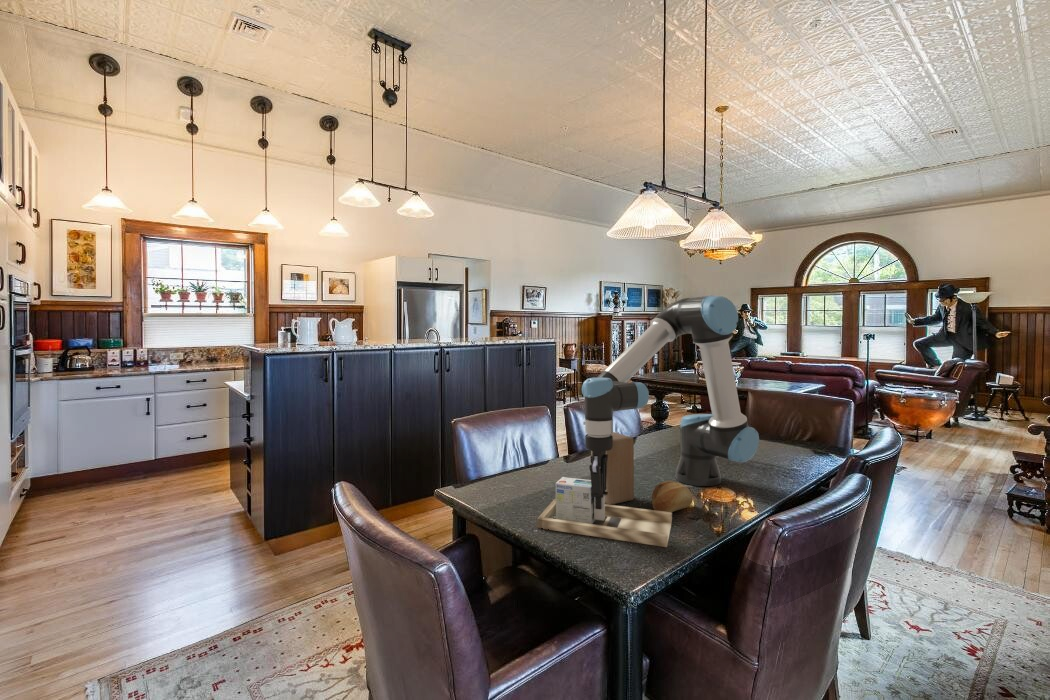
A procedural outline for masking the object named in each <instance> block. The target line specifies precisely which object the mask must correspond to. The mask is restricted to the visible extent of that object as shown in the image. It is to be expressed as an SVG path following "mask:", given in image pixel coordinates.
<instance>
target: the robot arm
mask: <svg viewBox="0 0 1050 700" xmlns="http://www.w3.org/2000/svg"><path fill="white" fill-rule="evenodd" d="M738 322H739V314H738V310H737V307H736V306H735V304H734V303H733V302H732V300H731V299H729V298H727V297H725V296H722V295H721V296H720V295H706V296H697V297H684V298H681V299H678V300H676V301H674V302H672V303H671V304H669V305H668V306H666V307H665V308H664V309H662V310H661V311H660V312H659V313H658V314H657V315H656V316H655V317H654V318H653V319H651V321H650V326H649V327H647V329H646V330H645V331H644V332H642V334H640V335H639V336H637V337H638V338H636V339H635V340H634V341H633V342H632V343H631V344H630V345H629V346H628V347H627V348H626V349H625V350H624V351H622V353H621V354H620V355H619V356H617V358H616V359H615V360H613V362H611V363H610V364H609V365H608V366H607V367H606V368H605V369H604V370H603V371H602V372H601V373H600V374H599V375H597V376H596V377H595V376H594V377H589V378H587V379H586V380H584V381H583V383H582V386H581V393H582V396H583V399H584V421H583V423H582V424H583V425H584V428H585V431H584V432H585V434H586V435H584V445H585V449H587V450H588V451H590V452H591V451H592V452H593V453H592V456H591V455H590V464H589V466H588V467H589V472H590V480H591V487H592V495H591V496H592V497H594V519H596V520H603V521H604V519H605V504H606V503H605V495H607V494H608V492H605V490H606V489H607V487H606V482H607V461H608V454H606V451H609V450H611V449H612V448H613V436H612V435H611V434H612V433H613V432H614V419H613V417H614V412H617V411H618V412H621V411H625V410H626V411H628V410H637V409H642V408H644V407H645V406H646V405H647V404H648V403H649V400H650V395H649V394H650V392H649V389H648V387H647V385H646V384H644V383H642V381H641V382H638V381H632V382H628V381H630V380H631V379H632V377H634V376H635V375H636V374H637V373H638V372H639V371H640V369H642V368H643V367H644V366H645V365H646V364H647V363H648V362H649V360H651V359H652V358H653V357H654V356H655V355H656V354H657V353H658V352H659V351H660V350H661V349H662V348H663V347H664V346H665V345H666V344H667V343H672V342H674V340H675V339H677V338H678V337H680V336H681V335H686V334H687V335H689V334H690V335H691V337H692V341H693V344H695V345H696V346H698V347H699V352H700V357H701V362H702V366H703V367H702V368H703V372H704V373H703V374H704V379H705V382H706V383H705V384H706V388H707V394H708V399H709V405H710V410H711V413H696V414H693V413H692V414H686V415H684V416H682V417H681V419H680V428H679V429H680V458H679V461H678V463H677V467H676V470H675V480H676V481H678V482H679V483H681V484H685V485H690V486H695V487H697V486H698V487H714V486H718V485H720V484H721V483H722V475H721V472H720V468H719V465H718V462H717V457H718V458H722V459H725V460H729V461H731V462H736V463H745V462H749V461H750V460H751V459H752V458H753V457H754V455H756V452H757V450H758V448H759V445H760V436H759V435H760V434H759V432H758V431H757V430H756V428H754V427H752V426H749V422H748V417H747V416H746V415H745V414H743V413H742V412H741V406H740V401H739V395H738V389H737V383H736V377H735V371H734V367H733V360H732V355H731V350H730V343H729V342H730V340H731V339H732V338H733V335H734V334H733V332H734V331H735V330H736V328H737V326H738V324H737V323H738ZM603 494H604V495H603Z"/></svg>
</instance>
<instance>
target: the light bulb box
mask: <svg viewBox="0 0 1050 700" xmlns="http://www.w3.org/2000/svg"><path fill="white" fill-rule="evenodd" d="M554 487H555V491H554V493H555V498H556V519H558V520H565V521H573V522H580V523H587V524H593V522H594V521H595V519H594V497H592V496H591V495H592V487H591V479H586V478H584V479H583V478H576V477H575V478H574V477H566V476H561V478H560V479H558V480H557V481H556V482H555V485H554Z"/></svg>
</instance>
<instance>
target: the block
mask: <svg viewBox="0 0 1050 700" xmlns="http://www.w3.org/2000/svg"><path fill="white" fill-rule="evenodd" d="M611 435H612V436H613V448H612V449H611V450H609V451H606V454H608V461H607V482H606V487H607V489H606V490H605V492H608V494H607V495H605V504H608V505H616V504H620V503H624V502H625V503H626V502H629V501H633V500H634V498H635V493H634V491H635V486H634V485H635V479H634V470H635V468H634V467H635V465H634V463H635V462H634V461H635V458H634V454H635V452H634V451H635V448H634V447H635V445H634V442H635V441H634V438H633V437H631V436H629V435H628V436H627V435H625V434H622V433H619V432H615V431H613V433H612V434H611ZM592 453H593V452H592V451H591V450H590V457H591V456H592ZM603 495H604V494H603Z"/></svg>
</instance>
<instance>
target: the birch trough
mask: <svg viewBox="0 0 1050 700" xmlns="http://www.w3.org/2000/svg"><path fill="white" fill-rule="evenodd" d="M553 515H556V497H555V498H554V499H553V500H552V501H551V502H550V503H549V504H548V506H547V507H546V508H545V509H544V510H543V511H542V512H541V514H540V515H539V516H538V517H537V518H536V529H541V528H543V530H548V529H549V530H550V531H557V532H563V533H569V534H575V535H576V534H577V535H583V536H587V537H588V536H591V537H595V538H596V537H597V538H603V539H609V540H610V539H611V540H615V541H623V542H629V543H635V544H643V545H649V546H650V545H651V546H657V547H664V548H668V545H669V544H668V543H669V539H670V533H671V527H672V521H673V512H665V511H656V510H654V509H646V508H638V507H631V506H624V505H616V504H612V505H608V504H606V503H605V519H604V521H603V520H596V519H595V521H594V522H593V524H587V523H580V522H573V521H565V520H558V519H553V518H551V517H552V516H553ZM554 518H556V516H554Z"/></svg>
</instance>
